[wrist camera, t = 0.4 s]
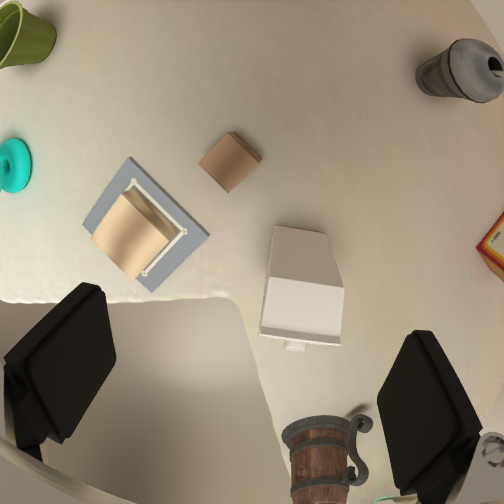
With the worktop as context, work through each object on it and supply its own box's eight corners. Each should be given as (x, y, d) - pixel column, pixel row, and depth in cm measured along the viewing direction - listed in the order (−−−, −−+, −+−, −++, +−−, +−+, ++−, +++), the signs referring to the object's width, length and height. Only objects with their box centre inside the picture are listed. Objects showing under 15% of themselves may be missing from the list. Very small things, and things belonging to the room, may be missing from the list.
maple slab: (103, 229, 43) (89, 238, 40) (134, 187, 40) (121, 193, 36) (143, 268, 45) (133, 281, 42) (179, 230, 42) (169, 241, 38)
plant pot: (78, 25, 31) (33, 11, 21) (41, 86, 35) (-7, 86, 25) (45, 5, 29) (3, -7, 18) (12, 60, 33) (-31, 59, 23)
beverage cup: (441, 53, 29) (532, 26, 10) (456, 101, 31) (555, 103, 13) (399, 58, 30) (482, 19, 12) (415, 108, 33) (510, 107, 14)
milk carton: (274, 224, 41) (266, 300, 24) (325, 233, 41) (352, 312, 24) (266, 271, 44) (254, 363, 27) (314, 278, 44) (329, 372, 27)
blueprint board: (84, 222, 44) (81, 224, 43) (130, 157, 39) (127, 157, 38) (153, 290, 48) (151, 293, 47) (209, 234, 43) (208, 236, 42)
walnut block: (207, 158, 39) (197, 163, 34) (234, 131, 37) (227, 132, 32) (234, 185, 40) (227, 193, 35) (261, 159, 38) (258, 163, 34)
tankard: (319, 457, 64) (321, 522, 46) (266, 439, 62) (259, 512, 43) (390, 412, 55) (407, 488, 37) (337, 389, 53) (347, 478, 35)
